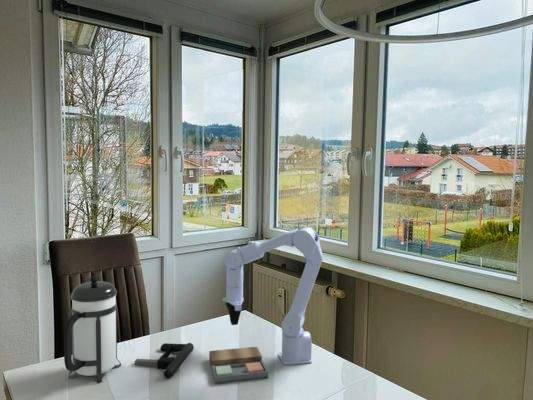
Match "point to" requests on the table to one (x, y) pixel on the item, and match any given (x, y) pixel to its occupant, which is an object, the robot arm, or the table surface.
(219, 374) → the sage tile
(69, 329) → the coffee press
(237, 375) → the charcoal tray
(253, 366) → the terracotta block
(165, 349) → the door handle
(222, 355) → the walnut ledge
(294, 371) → the table surface
